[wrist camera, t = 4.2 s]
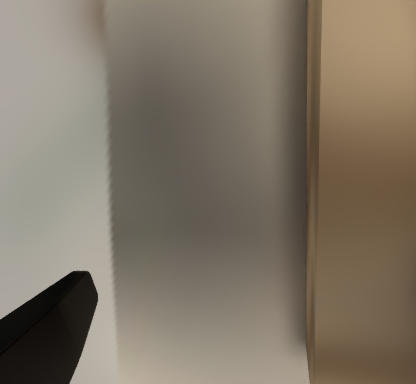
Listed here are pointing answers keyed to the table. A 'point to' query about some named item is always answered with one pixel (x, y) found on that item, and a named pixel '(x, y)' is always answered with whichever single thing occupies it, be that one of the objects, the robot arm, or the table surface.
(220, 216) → the table surface
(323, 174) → the door and jamb
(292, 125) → the table surface
